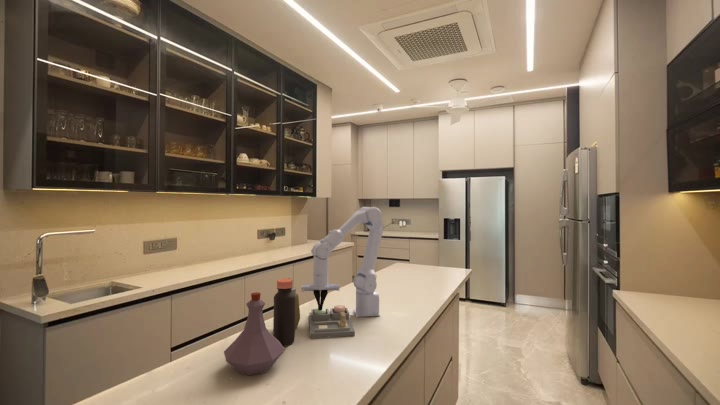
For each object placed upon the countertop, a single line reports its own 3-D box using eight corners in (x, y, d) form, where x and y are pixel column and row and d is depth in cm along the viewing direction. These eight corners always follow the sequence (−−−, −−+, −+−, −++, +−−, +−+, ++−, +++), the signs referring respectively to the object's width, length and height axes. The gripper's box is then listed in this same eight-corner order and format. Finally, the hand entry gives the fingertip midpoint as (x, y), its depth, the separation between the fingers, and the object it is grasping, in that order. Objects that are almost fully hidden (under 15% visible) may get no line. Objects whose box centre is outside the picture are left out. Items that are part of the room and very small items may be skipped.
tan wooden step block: (346, 322, 119) (346, 311, 119) (348, 328, 114) (348, 315, 114) (337, 323, 118) (338, 311, 118) (339, 328, 113) (339, 316, 113)
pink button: (344, 310, 129) (344, 305, 129) (345, 313, 125) (346, 308, 125) (333, 310, 128) (333, 305, 128) (334, 314, 124) (334, 309, 124)
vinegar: (268, 344, 103) (269, 281, 104) (281, 336, 110) (281, 277, 110) (287, 348, 101) (288, 283, 101) (298, 339, 108) (299, 279, 108)
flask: (262, 348, 101) (264, 283, 101) (297, 365, 91) (298, 293, 91) (210, 367, 88) (212, 294, 89) (243, 390, 78) (245, 306, 78)
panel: (346, 314, 133) (346, 305, 133) (354, 335, 111) (354, 325, 111) (309, 316, 131) (309, 307, 131) (310, 338, 109) (310, 327, 109)
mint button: (325, 312, 128) (325, 307, 128) (326, 316, 124) (326, 311, 124) (314, 313, 127) (314, 307, 127) (314, 316, 123) (314, 311, 123)
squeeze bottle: (304, 326, 119) (305, 277, 120) (291, 334, 112) (291, 281, 112) (286, 322, 123) (287, 275, 123) (272, 330, 116) (273, 279, 116)
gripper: (301, 276, 120) (300, 313, 120) (340, 276, 123) (340, 312, 123) (301, 272, 127) (301, 307, 127) (338, 272, 130) (338, 306, 130)
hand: (320, 309), depth 125 cm, fingers closed, pressing on mint button
